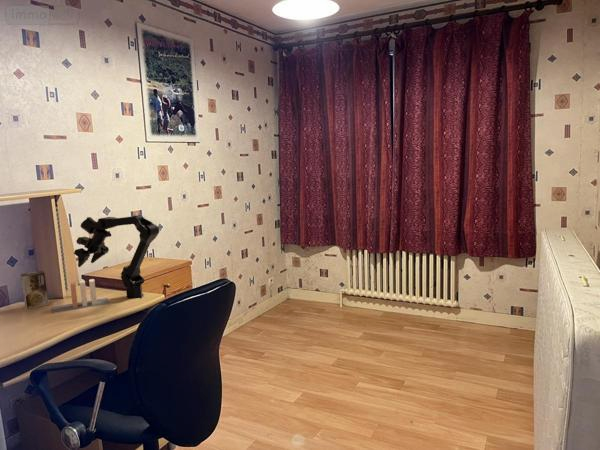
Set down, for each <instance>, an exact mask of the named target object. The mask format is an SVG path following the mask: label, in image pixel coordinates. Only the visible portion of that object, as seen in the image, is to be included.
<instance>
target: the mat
mask: <svg viewBox="0 0 600 450" xmlns="http://www.w3.org/2000/svg"><path fill="white" fill-rule="evenodd" d="M96 300H97V304H95V305H92V302H91V300H87V306H82V301H80V302H77V304H78V307H76V308H73V304H72V303H67V304H60V305H53V306H51V314H57V313H61V312H62V313H63V312H69V311H74V310H80V309H86V308H87V309H88V308H93V307H94V308H95V307H98V306H104V305H111V302H110V300H109V297H104V298H98V299H96Z"/></svg>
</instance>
